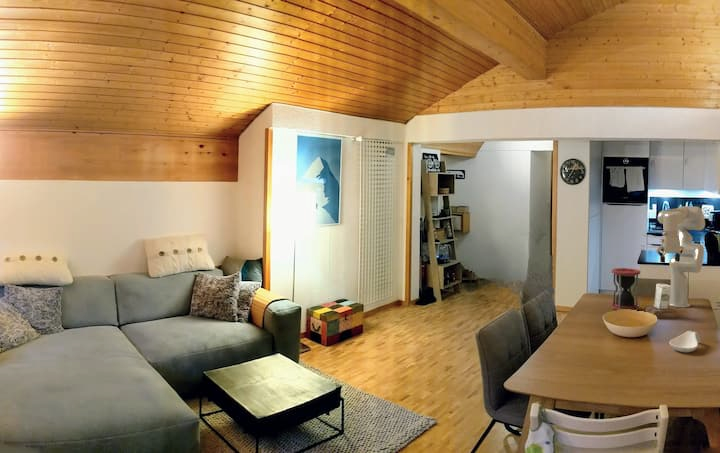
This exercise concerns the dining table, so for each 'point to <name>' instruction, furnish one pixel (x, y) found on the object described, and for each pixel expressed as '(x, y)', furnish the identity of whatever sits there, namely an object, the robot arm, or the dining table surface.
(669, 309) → the walnut block
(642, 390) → the dining table surface
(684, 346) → the spoon rest
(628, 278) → the hourglass
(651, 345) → the dining table surface
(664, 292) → the syrup box
